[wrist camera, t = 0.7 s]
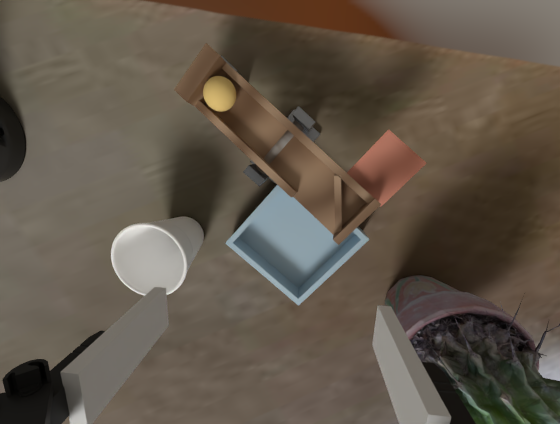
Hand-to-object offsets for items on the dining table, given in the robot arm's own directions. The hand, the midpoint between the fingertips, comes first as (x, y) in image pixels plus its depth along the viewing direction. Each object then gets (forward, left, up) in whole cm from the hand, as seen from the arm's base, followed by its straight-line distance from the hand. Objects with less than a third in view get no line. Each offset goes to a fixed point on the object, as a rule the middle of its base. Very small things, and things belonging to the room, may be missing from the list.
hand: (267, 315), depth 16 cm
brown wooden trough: (-7, +10, -17) cm, 21 cm away
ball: (-16, +7, -16) cm, 23 cm away
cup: (-10, -14, -26) cm, 31 cm away
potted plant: (+25, +4, -26) cm, 36 cm away
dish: (+3, -2, -26) cm, 26 cm away
